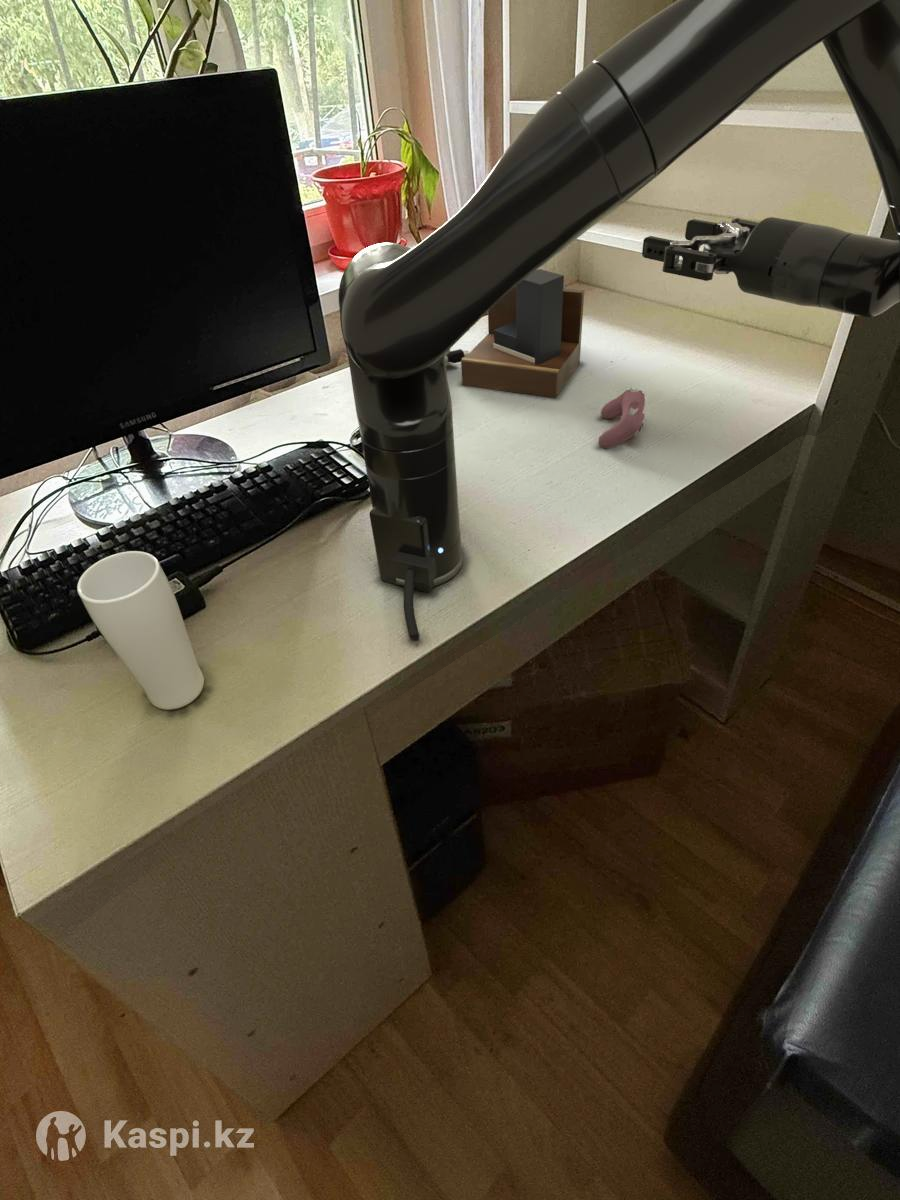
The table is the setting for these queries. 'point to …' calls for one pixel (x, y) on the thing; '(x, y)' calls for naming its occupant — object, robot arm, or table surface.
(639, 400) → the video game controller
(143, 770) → the table surface
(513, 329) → the dark l-shaped block
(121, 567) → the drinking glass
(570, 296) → the wooden l-shaped stand
